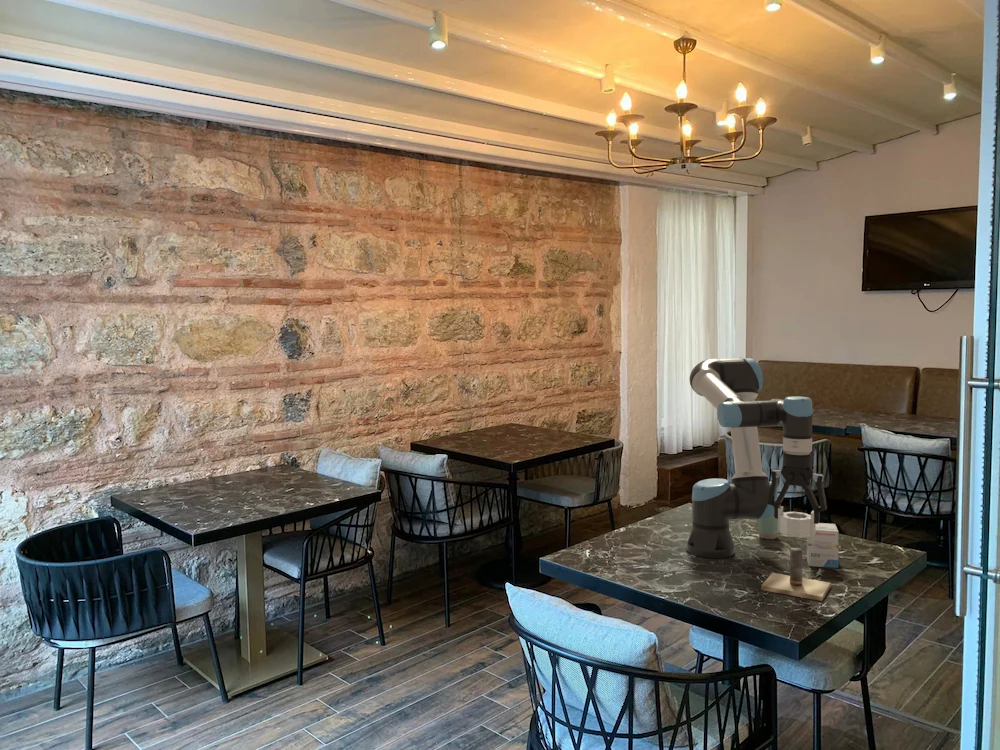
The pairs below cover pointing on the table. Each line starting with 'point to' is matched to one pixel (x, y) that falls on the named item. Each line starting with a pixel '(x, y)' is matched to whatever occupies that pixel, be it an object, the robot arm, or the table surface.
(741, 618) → the table surface
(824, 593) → the post block
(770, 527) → the coffee cup
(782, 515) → the ring
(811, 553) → the ink box
